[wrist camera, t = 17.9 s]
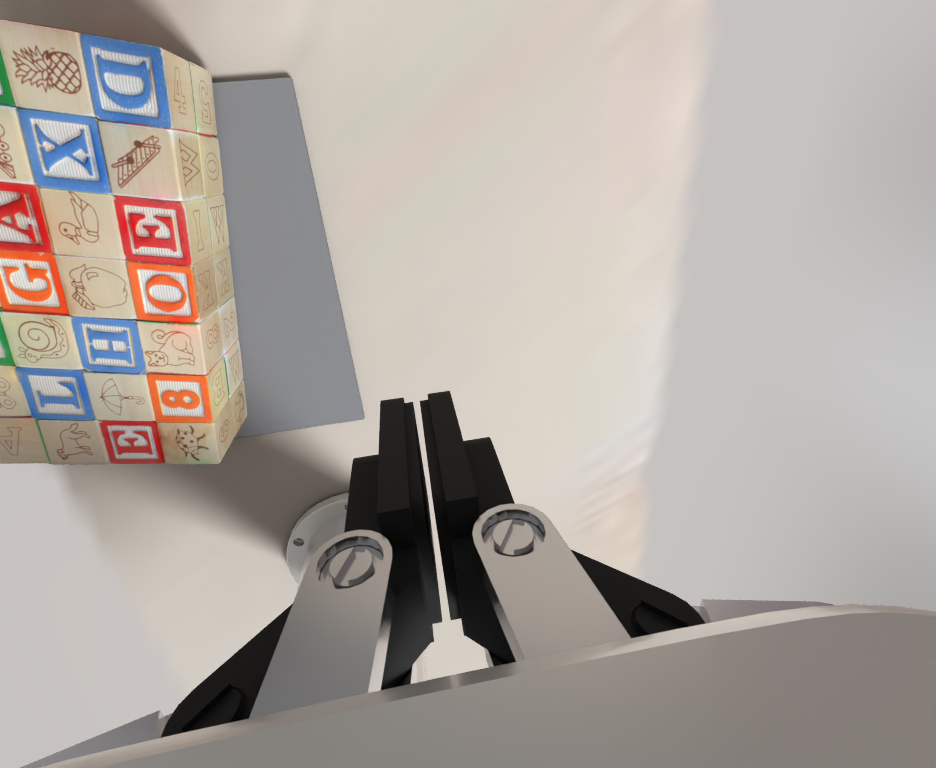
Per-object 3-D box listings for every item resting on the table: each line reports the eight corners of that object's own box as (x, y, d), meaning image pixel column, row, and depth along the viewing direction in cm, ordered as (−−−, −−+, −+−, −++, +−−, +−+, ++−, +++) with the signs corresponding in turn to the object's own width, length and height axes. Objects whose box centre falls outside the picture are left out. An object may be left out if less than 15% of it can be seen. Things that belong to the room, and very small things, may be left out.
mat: (364, 416, 35) (364, 419, 35) (146, 448, 34) (143, 452, 33) (292, 78, 26) (290, 77, 25) (-21, 101, 24) (-27, 100, 24)
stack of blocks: (216, 71, 25) (-58, 27, 22) (164, 44, 19) (-208, -18, 17) (248, 417, 33) (54, 411, 31) (219, 468, 28) (-19, 465, 26)
